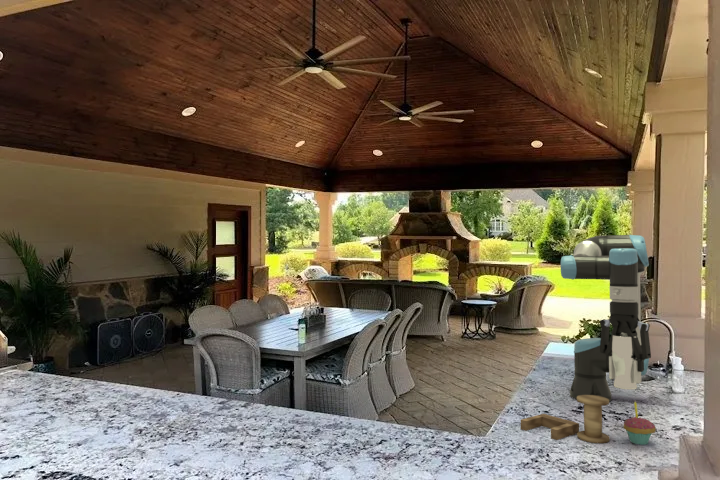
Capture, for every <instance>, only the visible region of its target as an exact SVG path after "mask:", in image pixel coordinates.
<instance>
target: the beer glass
mask: <svg viewBox="0 0 720 480" xmlns="http://www.w3.org/2000/svg"><path fill="white" fill-rule="evenodd" d="M611 335H612V334H611ZM635 338H636V336H635ZM611 353H612V360H613V365H614V370H615V378H614V379H613V387H614V388H615V389H619V390H620V389H621V390H629V391H630V390H636V389H637V388H638V385H637V384H636V383H634V360H635V359H636V356H635V353H634V346H633V337H628V336H627V334H621V335H620V336H614V335H612V342H611Z"/></svg>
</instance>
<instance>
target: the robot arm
mask: <svg viewBox="0 0 720 480" xmlns="http://www.w3.org/2000/svg"><path fill="white" fill-rule="evenodd" d="M648 256H649V255H648V251H647V245H646V240H645V237H644V236H643V235H640V234H639V235H637V234H636V235H635V234H634V235H633V234H615V235H596V236H591V237H588V238H585V239H584V240H582V241H580V242H579V243H577V244H576V246H575V247H574V249H573V255H564V256H561V259H560V275H561V278H563V279H567V280H600V281H601V280H605V281H606V280H608V281H609V300H611V301H609V313H610V316H609V318H607V319H600V320H599V323H600V327H601V329H600V337H590V338H582V339H577V340H575V342H574V346H573V347H574V350H573V353H574V356H573V357H574V360H573V361H574V364H573V365H574V366H573V367H574V368H573V370H574V377H573V380H572V383H571V387H570V389H569V396H570V397H571V398H572V397H573V398H572V399H574V398H575V399H574V400H577V396H579V395H595V396H601V397H605V398H607V399H609V402H611V401H612V400H613V399H612V392H611V389H610V385H609V382H608V381H607V373H608V375H609V376H608V378H609V379H610V380H615V370H614V365H613V360H612V353H611V342H612V335H614V336H620V335H621V334H627V336H628V337H633V346H634V353H635V356H636V359H635V360H634V383H636V385H637V384H641V383H642V376H645V375H646V374H647V372H648V368H649V364H650V363H649V362H650V359H651V358H652V352H651V342H650V335H649V331H650V327H651V325H650V323H648V322H647V323H644V322H641V319H642V317H641V316H642V314H641V312H642V311H641V308H642V307H641V275H642V274H644V273H645V271H646V270H645V269H646V267H649V265H650V263H649V257H648ZM610 326H612V330H611V336H610ZM635 336H636V338H635ZM609 337H610V338H609ZM611 399H612V400H611Z"/></svg>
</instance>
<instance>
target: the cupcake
mask: <svg viewBox="0 0 720 480" xmlns="http://www.w3.org/2000/svg"><path fill="white" fill-rule="evenodd" d="M633 404H634V405H633V406H634V413H635V416H631V417H629V418H627V419H625V420H623V427H622V428H623V429H624V430H625V432H626V433H627V436H628V439H629V441H630V443H633V444H636V445H642V446H643V445H648V444H649V441H650V439H651V436H652V434H655V433H656V426H655V425H654V423H653V422H651V421H650V420H649V419H647V418H643V417H639V413H638V412H639V411H638V405H637V401H634V402H633Z"/></svg>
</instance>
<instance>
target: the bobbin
mask: <svg viewBox="0 0 720 480" xmlns="http://www.w3.org/2000/svg"><path fill="white" fill-rule="evenodd" d="M576 402H578V403H580V404H583V428H584V429H583V430H579V432H577V434H576V437H577V439H579V440H581V441H583V442H585V441H586V442H585V443H591V444H599V445H600V444H601V445H602V444H608V443H609V442H610V439H611V438H610V436H609V434H606V433H604V432H603V409H602V408H603V406H604V407H605V406H608V405H609V404H610V401H609V399H607V398H605V397H601V396H595V395H579V396H577V399H576Z"/></svg>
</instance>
